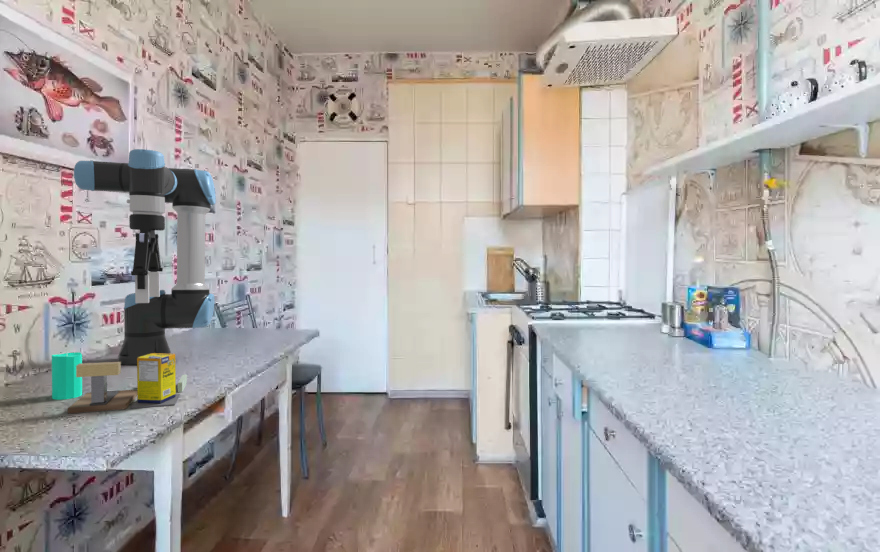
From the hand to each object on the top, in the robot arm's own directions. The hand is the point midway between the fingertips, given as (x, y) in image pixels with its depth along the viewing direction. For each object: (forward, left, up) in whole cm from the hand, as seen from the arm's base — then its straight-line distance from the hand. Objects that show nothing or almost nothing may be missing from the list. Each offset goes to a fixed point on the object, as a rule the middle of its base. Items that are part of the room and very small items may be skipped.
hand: (148, 299), depth 122 cm
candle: (-5, -19, -24) cm, 31 cm away
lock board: (+4, -8, -24) cm, 26 cm away
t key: (+9, -8, -22) cm, 25 cm away
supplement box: (+6, +3, -24) cm, 25 cm away
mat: (+6, +3, -24) cm, 25 cm away
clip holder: (-6, +2, -24) cm, 25 cm away
